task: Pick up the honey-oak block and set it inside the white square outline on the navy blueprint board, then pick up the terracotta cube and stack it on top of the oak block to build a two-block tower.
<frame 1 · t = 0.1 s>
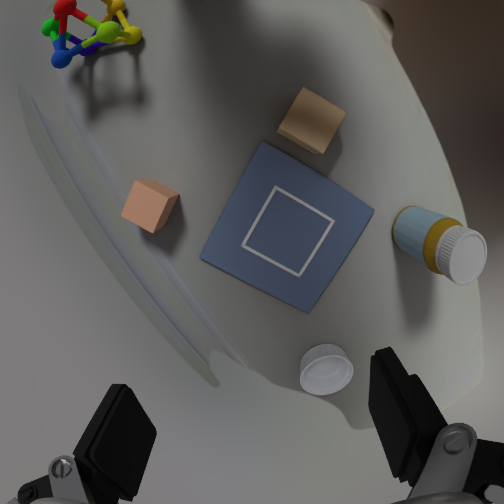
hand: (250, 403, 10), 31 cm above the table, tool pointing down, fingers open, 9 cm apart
terracotta cube: (156, 201, 39), on the table
oak block: (306, 125, 35), on the table
blueprint board: (287, 231, 40), on the table
educational toy: (107, 41, 31), on the table
bottle: (409, 227, 39), on the table
ramekin: (322, 360, 46), on the table
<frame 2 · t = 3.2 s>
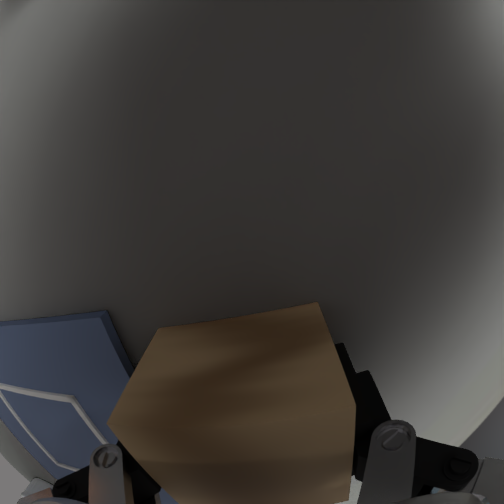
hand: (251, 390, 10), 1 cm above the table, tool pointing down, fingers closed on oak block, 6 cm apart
oak block: (251, 378, 11), on the table, touching gripper
blueprint board: (66, 433, 14), on the table
ramekin: (60, 492, 20), on the table
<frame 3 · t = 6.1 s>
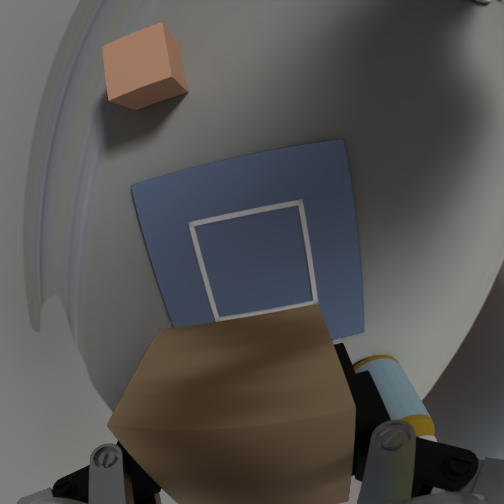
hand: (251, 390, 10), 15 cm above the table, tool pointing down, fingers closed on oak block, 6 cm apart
terracotta cube: (156, 76, 21), on the table
oak block: (251, 379, 11), point 15 cm above the table, touching gripper
blueprint board: (256, 262, 25), on the table
bottle: (370, 374, 29), on the table
when the fingers open (2 cm above the table, at t = 8.9 s): oak block drops 1 cm, resting on blueprint board.
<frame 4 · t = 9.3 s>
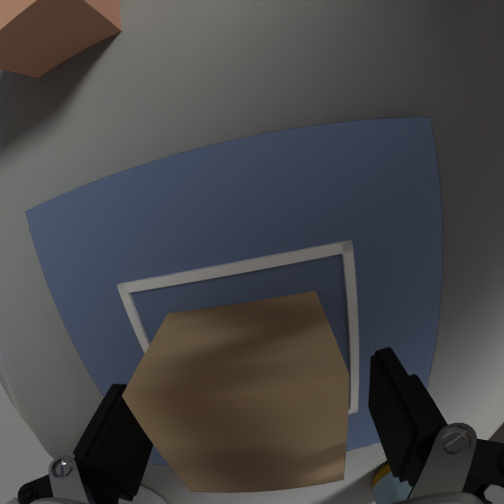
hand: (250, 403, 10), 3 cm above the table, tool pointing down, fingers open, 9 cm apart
terracotta cube: (75, 18, 8), on the table
oak block: (253, 362, 12), point 1 cm above the table, touching blueprint board
blueprint board: (252, 355, 13), on the table
bottle: (407, 462, 16), on the table
ramekin: (129, 489, 19), on the table
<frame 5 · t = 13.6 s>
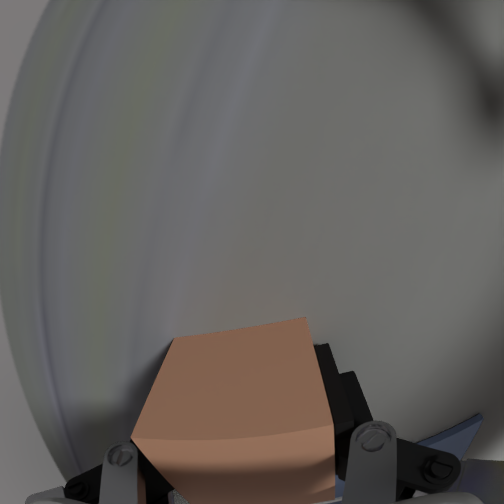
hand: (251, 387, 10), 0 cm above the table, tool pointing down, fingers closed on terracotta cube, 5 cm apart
terracotta cube: (251, 378, 11), on the table, touching gripper
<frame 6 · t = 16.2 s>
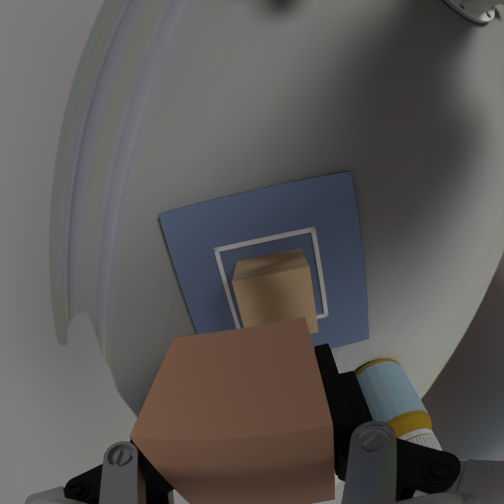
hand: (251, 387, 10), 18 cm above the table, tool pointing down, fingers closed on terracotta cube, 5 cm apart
terracotta cube: (251, 378, 11), point 17 cm above the table, touching gripper
oak block: (274, 283, 28), point 1 cm above the table, touching blueprint board
blueprint board: (274, 281, 28), on the table
bottle: (374, 375, 32), on the table
when the fingers open (7 cm above the table, at t = 19.3 s): terracotta cube stays where it is, resting on oak block.
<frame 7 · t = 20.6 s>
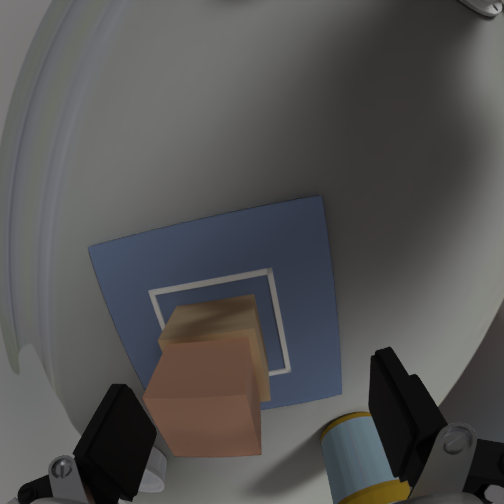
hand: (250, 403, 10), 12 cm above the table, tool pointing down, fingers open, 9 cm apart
terracotta cube: (215, 373, 17), point 6 cm above the table, touching oak block
oak block: (223, 334, 22), point 1 cm above the table, touching blueprint board, terracotta cube
blueprint board: (223, 330, 22), on the table
bottle: (349, 428, 26), on the table
ramekin: (138, 451, 28), on the table
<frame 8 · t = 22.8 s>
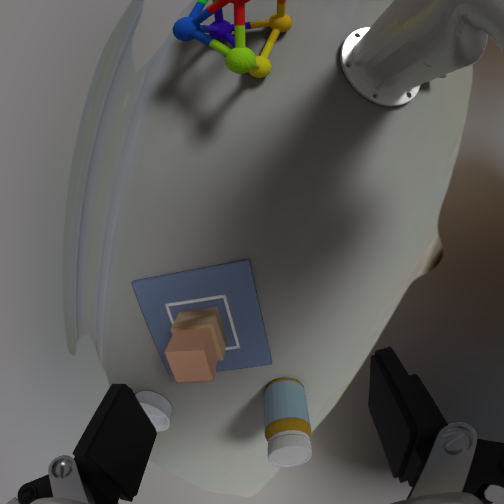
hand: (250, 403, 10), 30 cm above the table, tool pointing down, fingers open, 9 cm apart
terracotta cube: (196, 344, 38), point 6 cm above the table, touching oak block
oak block: (203, 326, 43), point 1 cm above the table, touching blueprint board, terracotta cube
blueprint board: (203, 324, 43), on the table
educational toy: (239, 42, 31), on the table
bottle: (284, 388, 47), on the table
ramekin: (153, 402, 50), on the table
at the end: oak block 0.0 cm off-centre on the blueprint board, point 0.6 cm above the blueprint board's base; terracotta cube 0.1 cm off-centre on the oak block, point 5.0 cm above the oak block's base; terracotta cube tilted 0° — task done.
